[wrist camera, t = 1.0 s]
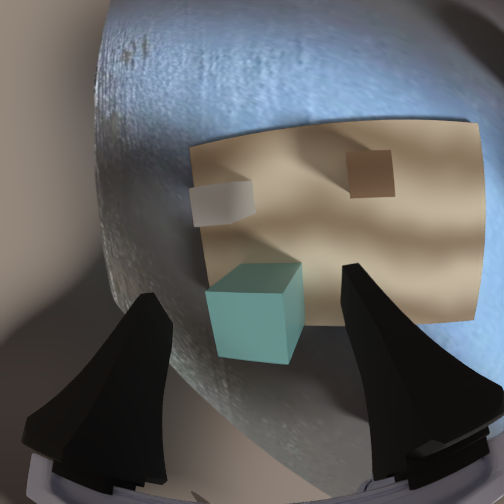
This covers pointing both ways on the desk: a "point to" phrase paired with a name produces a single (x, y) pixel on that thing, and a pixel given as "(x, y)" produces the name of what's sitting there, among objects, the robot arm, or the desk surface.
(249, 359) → the teal green block
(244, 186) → the grey post
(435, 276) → the board
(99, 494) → the robot arm
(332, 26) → the desk surface
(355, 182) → the walnut post
